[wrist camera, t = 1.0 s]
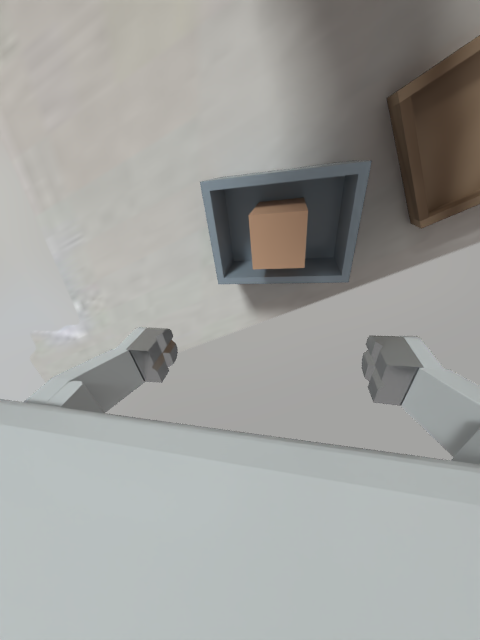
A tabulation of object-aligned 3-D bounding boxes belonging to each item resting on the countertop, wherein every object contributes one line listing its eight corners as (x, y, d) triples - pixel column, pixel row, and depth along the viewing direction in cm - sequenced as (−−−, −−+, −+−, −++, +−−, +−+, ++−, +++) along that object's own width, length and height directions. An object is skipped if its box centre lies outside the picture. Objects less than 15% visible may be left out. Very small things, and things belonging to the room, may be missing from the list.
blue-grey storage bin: (218, 177, 26) (200, 181, 21) (353, 160, 23) (371, 160, 17) (230, 264, 32) (218, 284, 27) (338, 260, 29) (348, 282, 23)
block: (259, 201, 25) (248, 215, 19) (304, 197, 24) (308, 210, 18) (261, 245, 28) (252, 269, 22) (301, 242, 27) (304, 267, 21)
